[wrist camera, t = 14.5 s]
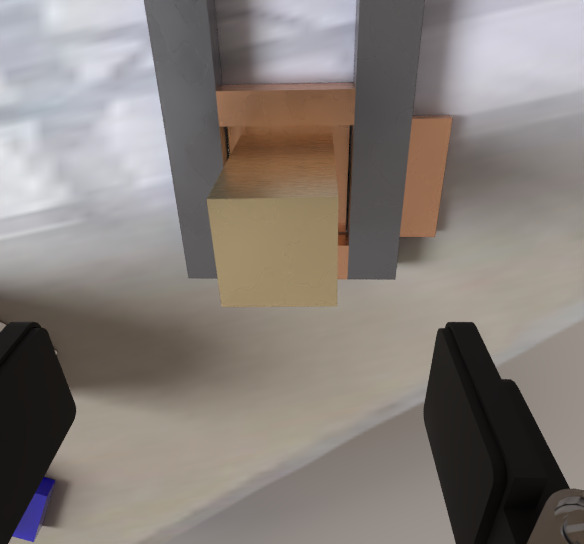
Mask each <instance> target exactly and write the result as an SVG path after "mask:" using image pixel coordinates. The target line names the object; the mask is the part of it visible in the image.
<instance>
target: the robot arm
mask: <svg viewBox="0 0 584 544" xmlns="http://www.w3.org/2000/svg"><path fill="white" fill-rule="evenodd" d="M75 415H76V406H75V403H74V400H73V397H72V395H71V392H70V389H69V387H68V384H67V382H66V379H65V376H64V374H63V371H62V368H61V366H60V363H59V361H58V358H57V355H56V353H55V350H54V347H53V345H52V342H51V340H50V337H49V334H48V332H47V330H46V329H44V328H41V326H40V325H39V324H38V323H36V322H11V323H8V324H7V325H6V326H5V327H4V328H3V329H2V331H1V332H0V544H8V543H9V541H10V539H11V537H12V535H13V534H14V532H15V530H16V528H17V526H18V524H19V522H20V520H21V519H22V517H23V515H24V513H25V511H26V509H27V507H28V505H29V504H30V502H31V500H32V498H33V496H34V494H35V492H36V490H37V489H38V487H39V485H40V483H41V481H42V479H43V477H44V475H45V474H46V472H47V470H48V468H49V466H50V464H51V462H52V460H53V459H54V457H55V455H56V453H57V451H58V449H59V447H60V445H61V444H62V442H63V440H64V438H65V436H66V434H67V432H68V430H69V429H70V427H71V425H72V423H73V421H74V419H75ZM424 422H425V427H426V430H427V434H428V438H429V442H430V446H431V450H432V454H433V457H434V461H435V465H436V469H437V472H438V476H439V480H440V484H441V488H442V492H443V496H444V499H445V503H446V507H447V511H448V515H449V519H450V522H451V526H452V530H453V534H454V538H455V542H456V544H584V490H579V489H570V488H569V486H568V484H567V482H566V480H565V478H564V476H563V474H562V472H561V470H560V468H559V466H558V464H557V462H556V460H555V459H554V457H553V455H552V453H551V451H550V449H549V447H548V445H547V443H546V441H545V439H544V437H543V435H542V433H541V431H540V429H539V427H538V425H537V424H536V421H535V419H534V417H533V416H532V414H531V412H530V410H529V408H528V406H527V404H526V402H525V400H524V398H523V396H522V394H521V392H520V390H519V388H518V387H517V385H516V384H515V382H514V381H512V380H509V379H508V380H507V379H501V377H500V375H499V373H498V371H497V369H496V367H495V365H494V363H493V361H492V359H491V357H490V355H489V352H488V350H487V348H486V346H485V344H484V342H483V340H482V338H481V336H480V334H479V332H478V330H477V327H476V326H475V324H474V323H473V322H448V323H447V324H446V327H445V328H440V329H438V331H437V336H436V342H435V347H434V353H433V359H432V364H431V370H430V376H429V381H428V387H427V392H426V398H425V404H424Z"/></svg>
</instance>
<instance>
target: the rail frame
mask: <svg viewBox="0 0 584 544" xmlns="http://www.w3.org/2000/svg"><path fill="white" fill-rule="evenodd" d="M424 2H425V0H357V6H356V30H355V54H354V79H353V83H300V84H239V85H222V77H221V66H220V56H219V45H218V34H217V24H216V13H215V2H214V0H144V4H145V10H146V16H147V22H148V29H149V35H150V41H151V47H152V53H153V60H154V66H155V72H156V78H157V85H158V91H159V97H160V103H161V110H162V116H163V122H164V128H165V135H166V141H167V147H168V153H169V160H170V166H171V172H172V178H173V184H174V191H175V197H176V203H177V209H178V216H179V222H180V228H181V234H182V241H183V247H184V253H185V259H186V266H187V272H188V278H218V277H217V270H216V263H215V256H214V248H213V241H212V234H211V227H210V220H209V213H208V206H207V197H208V196H209V194H210V192H211V190H212V188H213V186H214V184H215V182H216V181H217V179H218V177H219V175H220V173H221V171H222V169H223V167H224V166H225V164H226V162H227V160H228V158H229V152H228V141H227V130H226V127H228V138H229V149H230V154H231V152H232V151H233V149H234V147H235V145H236V143H237V141H238V139H239V137H240V136H244V135H281V134H319V133H332V135H333V145H334V156H335V166H336V177H337V187H338V270H337V279H394V280H395V277H396V267H397V258H398V248H399V239H400V237H435V233H436V226H437V219H438V212H439V206H440V199H441V192H442V185H443V179H444V172H445V165H446V158H447V152H448V145H449V138H450V131H451V125H452V118H451V117H450V116H449V115H439V116H412V115H413V106H414V97H415V87H416V78H417V68H418V59H419V49H420V40H421V30H422V21H423V11H424ZM350 125H352V127H351V151H350V176H349V200H348V224H347V232H346V208H347V182H348V157H349V131H350Z"/></svg>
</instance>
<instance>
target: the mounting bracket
mask: <svg viewBox="0 0 584 544" xmlns="http://www.w3.org/2000/svg"><path fill="white" fill-rule="evenodd" d="M55 481H56V480H53V479H49V478H46V477H43V479H42V481H41V483H40V485H39V487H38V489H37V490H36V492H35V494H34V496H33V498H32V500H31V502H30V504H29V505H28V507H27V509H26V511H25V513H24V515H23V517H22V519H21V520H20V522H19V524H18V526H17V528H16V530H15V532H14V534H13V535H12V536H13V537H17V538H21V539H24V540H28V541H32V542H34V541H35V539H36V537H37V535H38V533H39V531H40V529H41V527H42V524H43V521H44V518H45V514H46V511H47V508H48V504H49V501H50V498H51V494H52V491H53V488H54V484H55Z"/></svg>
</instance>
